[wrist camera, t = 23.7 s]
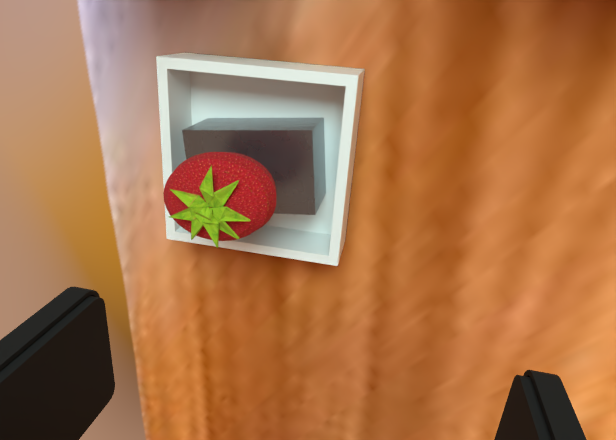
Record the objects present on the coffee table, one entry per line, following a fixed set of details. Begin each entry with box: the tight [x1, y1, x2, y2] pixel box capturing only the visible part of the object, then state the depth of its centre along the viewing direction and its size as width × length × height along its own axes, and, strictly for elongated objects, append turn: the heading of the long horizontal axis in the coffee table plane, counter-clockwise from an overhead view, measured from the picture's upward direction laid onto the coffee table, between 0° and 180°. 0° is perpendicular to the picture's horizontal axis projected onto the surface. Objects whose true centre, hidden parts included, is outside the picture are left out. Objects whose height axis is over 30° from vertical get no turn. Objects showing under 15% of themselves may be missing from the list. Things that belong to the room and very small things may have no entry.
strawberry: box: [164, 152, 276, 248], centre depth 31 cm, size 6×8×10 cm
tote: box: [156, 53, 365, 266], centre depth 38 cm, size 15×15×5 cm
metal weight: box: [182, 118, 326, 215], centre depth 38 cm, size 6×10×5 cm, turn 92°
